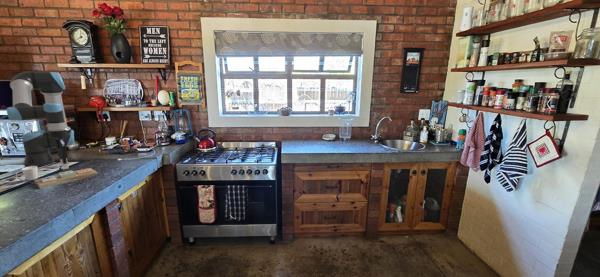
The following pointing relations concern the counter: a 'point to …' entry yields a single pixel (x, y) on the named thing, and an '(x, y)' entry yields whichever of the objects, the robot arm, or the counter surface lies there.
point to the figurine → (126, 148)
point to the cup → (29, 173)
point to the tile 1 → (48, 179)
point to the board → (65, 179)
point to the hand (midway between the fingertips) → (65, 168)
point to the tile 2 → (66, 174)
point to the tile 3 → (83, 171)
